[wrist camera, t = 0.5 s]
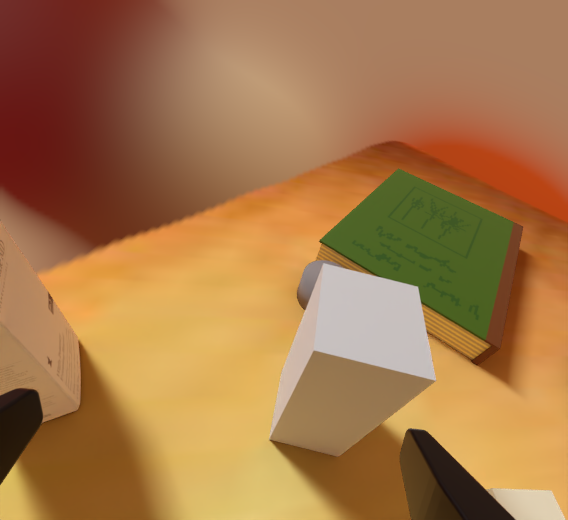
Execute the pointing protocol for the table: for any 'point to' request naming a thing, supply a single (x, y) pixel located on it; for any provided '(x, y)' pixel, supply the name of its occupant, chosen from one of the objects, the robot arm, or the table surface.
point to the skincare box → (35, 337)
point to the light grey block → (351, 361)
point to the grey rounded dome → (310, 281)
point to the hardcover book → (435, 257)
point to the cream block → (528, 504)
